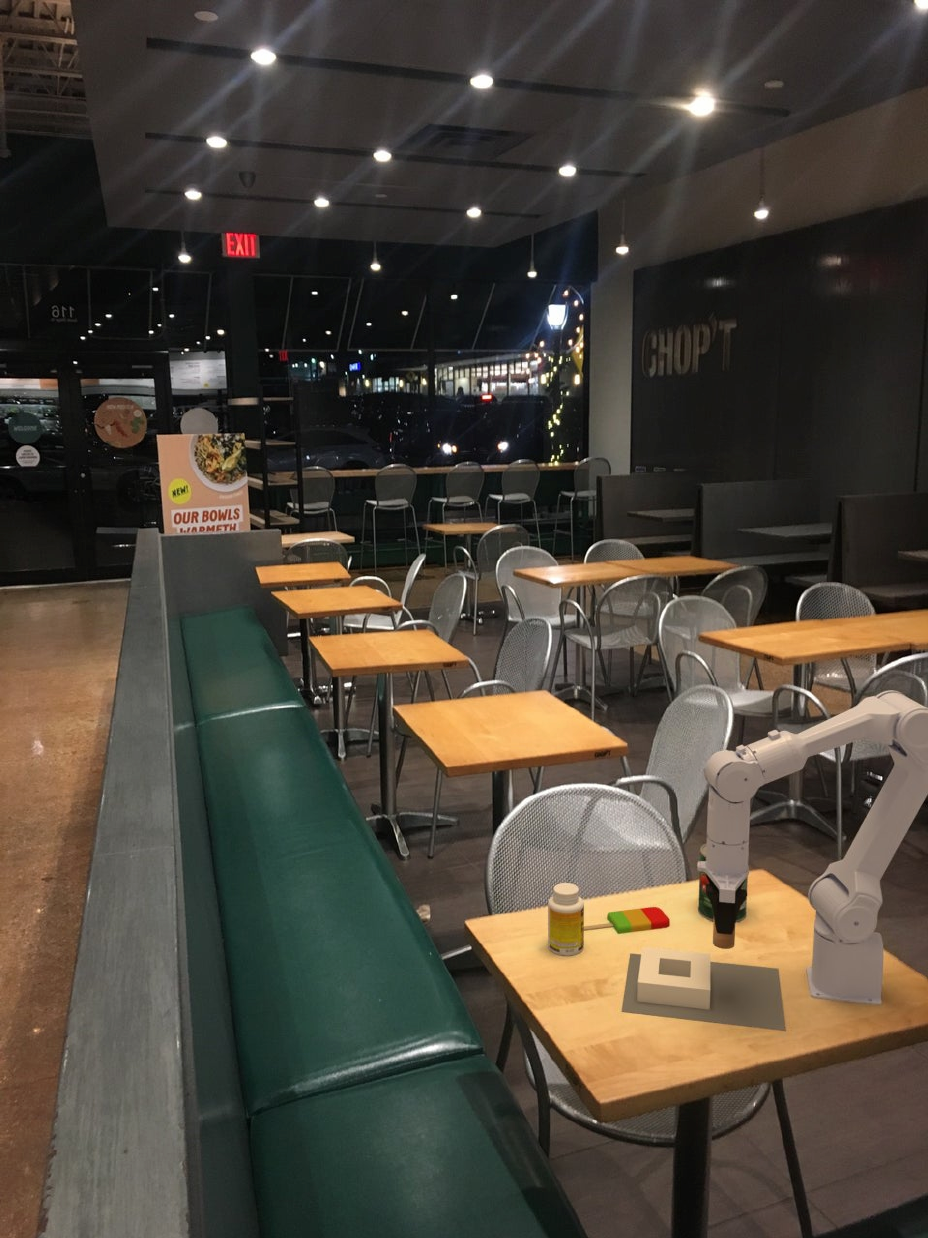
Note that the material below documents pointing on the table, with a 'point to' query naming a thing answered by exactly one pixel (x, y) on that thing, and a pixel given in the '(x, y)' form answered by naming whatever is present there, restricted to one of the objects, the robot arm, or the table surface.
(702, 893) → the canned tomato
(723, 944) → the peg
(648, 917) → the popsicle
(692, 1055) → the table surface
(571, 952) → the supplement bottle
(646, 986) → the hole block
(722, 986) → the mat
